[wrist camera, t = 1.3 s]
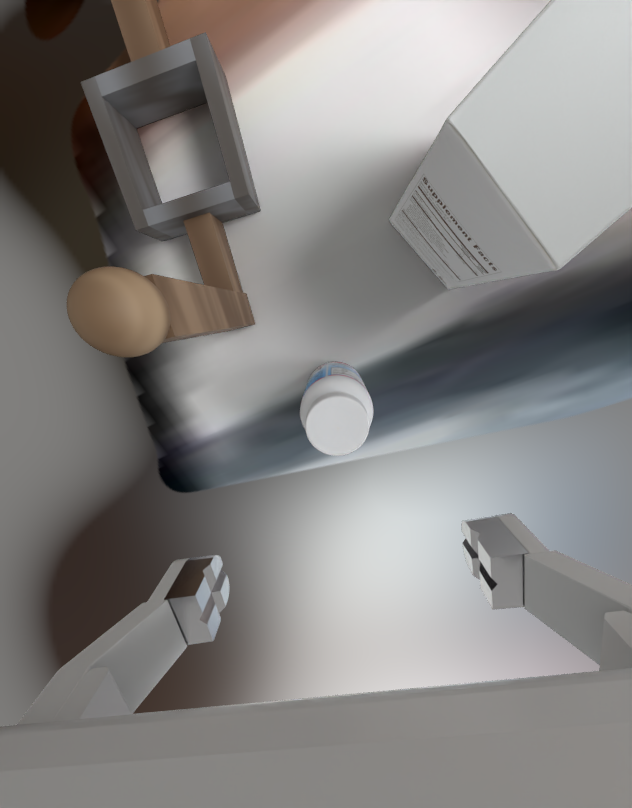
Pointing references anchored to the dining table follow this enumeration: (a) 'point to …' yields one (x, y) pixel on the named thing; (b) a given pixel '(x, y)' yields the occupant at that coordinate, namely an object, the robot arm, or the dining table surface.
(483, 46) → the dining table surface
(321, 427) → the pill bottle
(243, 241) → the dining table surface
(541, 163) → the supplement box
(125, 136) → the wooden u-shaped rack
